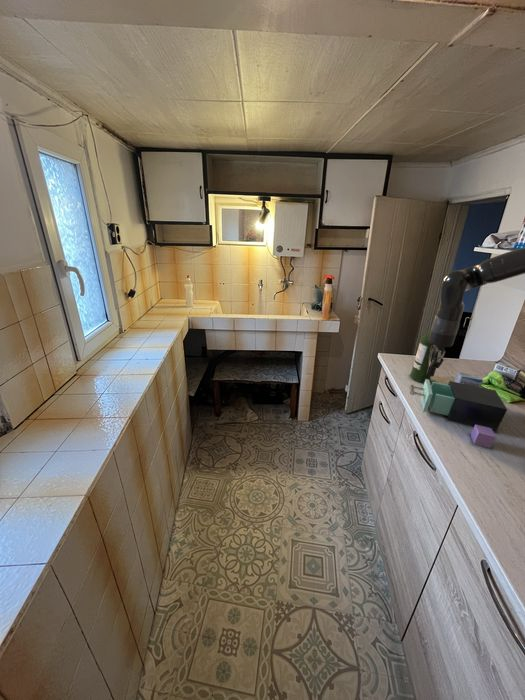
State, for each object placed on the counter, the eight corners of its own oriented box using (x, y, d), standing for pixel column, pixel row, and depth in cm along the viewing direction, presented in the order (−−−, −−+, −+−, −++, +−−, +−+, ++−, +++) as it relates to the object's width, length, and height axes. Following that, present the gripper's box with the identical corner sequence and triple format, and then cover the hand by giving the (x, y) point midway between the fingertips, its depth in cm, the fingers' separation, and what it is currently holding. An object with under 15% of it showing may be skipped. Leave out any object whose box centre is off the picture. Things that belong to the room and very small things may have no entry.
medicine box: (454, 394, 116) (461, 376, 112) (451, 389, 120) (457, 371, 116) (476, 398, 114) (483, 380, 110) (472, 393, 118) (479, 375, 114)
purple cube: (486, 439, 92) (491, 428, 90) (490, 448, 88) (496, 437, 86) (470, 435, 94) (475, 424, 92) (473, 443, 90) (478, 432, 88)
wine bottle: (407, 373, 131) (425, 311, 118) (424, 374, 131) (444, 312, 118) (414, 382, 124) (434, 317, 111) (432, 383, 124) (454, 318, 111)
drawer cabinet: (447, 420, 100) (455, 398, 96) (441, 401, 111) (449, 380, 107) (496, 432, 95) (507, 409, 91) (485, 411, 106) (495, 390, 102)
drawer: (407, 407, 105) (412, 389, 102) (406, 392, 115) (410, 375, 111) (465, 421, 99) (473, 403, 95) (459, 404, 108) (466, 387, 105)
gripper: (460, 339, 88) (444, 386, 95) (453, 326, 99) (439, 369, 106) (433, 335, 90) (419, 381, 98) (429, 323, 102) (417, 365, 109)
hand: (429, 375), depth 102 cm, fingers closed
